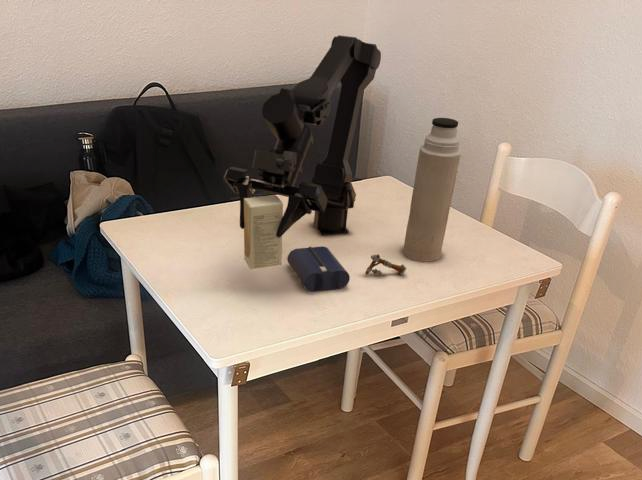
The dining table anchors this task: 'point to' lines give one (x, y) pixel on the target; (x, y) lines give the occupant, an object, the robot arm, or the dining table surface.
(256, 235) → the cosmetic box
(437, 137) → the thermos bottle
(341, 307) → the dining table surface
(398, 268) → the wooden post with brackets
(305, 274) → the pouch
